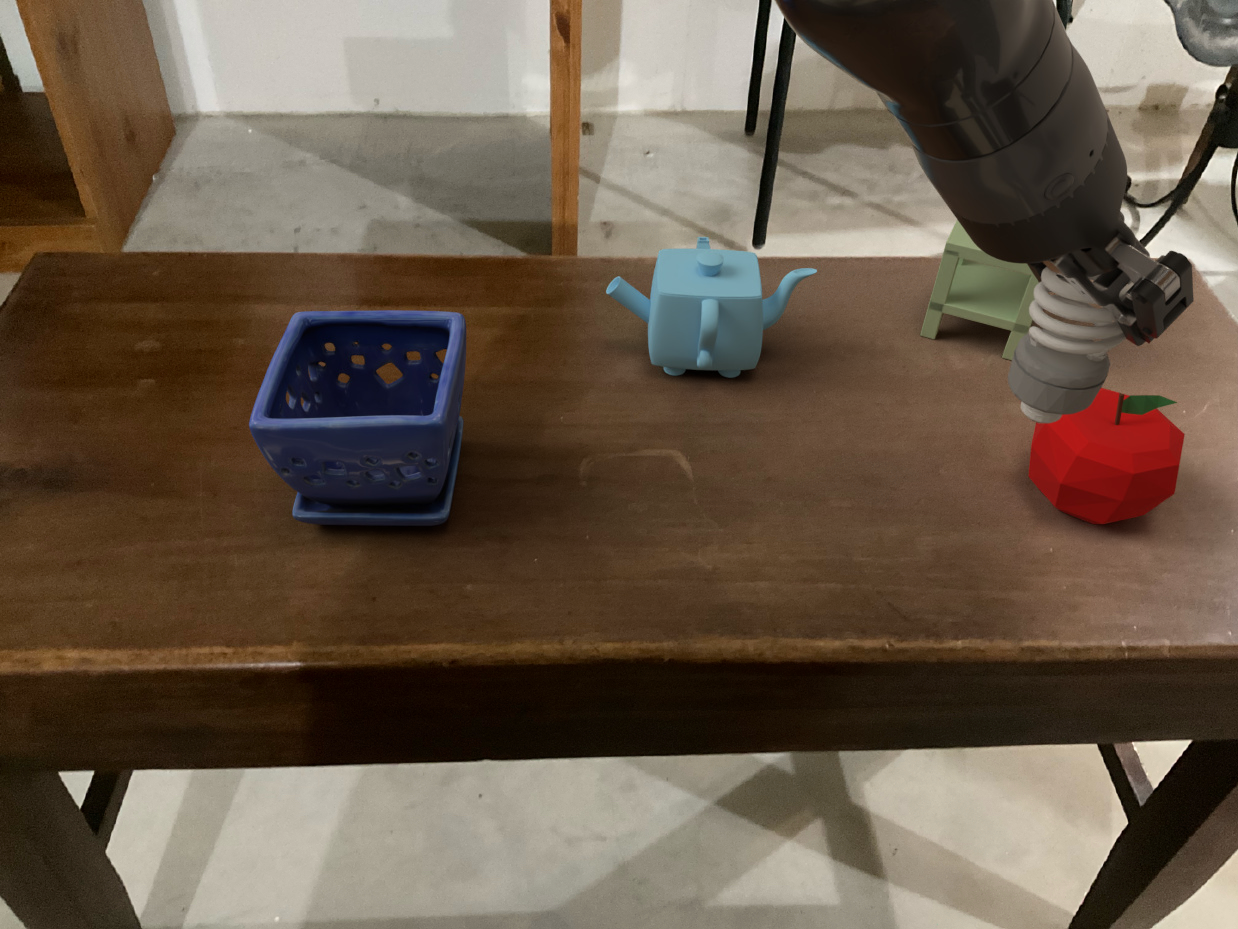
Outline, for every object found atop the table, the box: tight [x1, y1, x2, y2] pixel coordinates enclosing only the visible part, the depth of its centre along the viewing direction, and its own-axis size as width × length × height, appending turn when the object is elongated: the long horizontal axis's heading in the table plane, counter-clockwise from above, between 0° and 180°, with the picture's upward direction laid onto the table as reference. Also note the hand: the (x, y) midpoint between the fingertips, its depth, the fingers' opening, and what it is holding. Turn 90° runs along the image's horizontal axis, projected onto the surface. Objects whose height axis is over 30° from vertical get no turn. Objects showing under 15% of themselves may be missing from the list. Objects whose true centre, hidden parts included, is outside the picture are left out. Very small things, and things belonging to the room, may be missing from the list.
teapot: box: [605, 236, 818, 379], centre depth 85 cm, size 18×14×10 cm
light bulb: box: [1007, 267, 1134, 423], centre depth 56 cm, size 6×6×12 cm
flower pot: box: [248, 309, 467, 527], centre depth 70 cm, size 13×13×12 cm
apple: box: [1027, 387, 1186, 525], centre depth 72 cm, size 11×11×10 cm
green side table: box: [919, 219, 1039, 361], centre depth 89 cm, size 9×9×10 cm
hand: (1102, 302), depth 56 cm, fingers closed on light bulb, 5 cm apart
